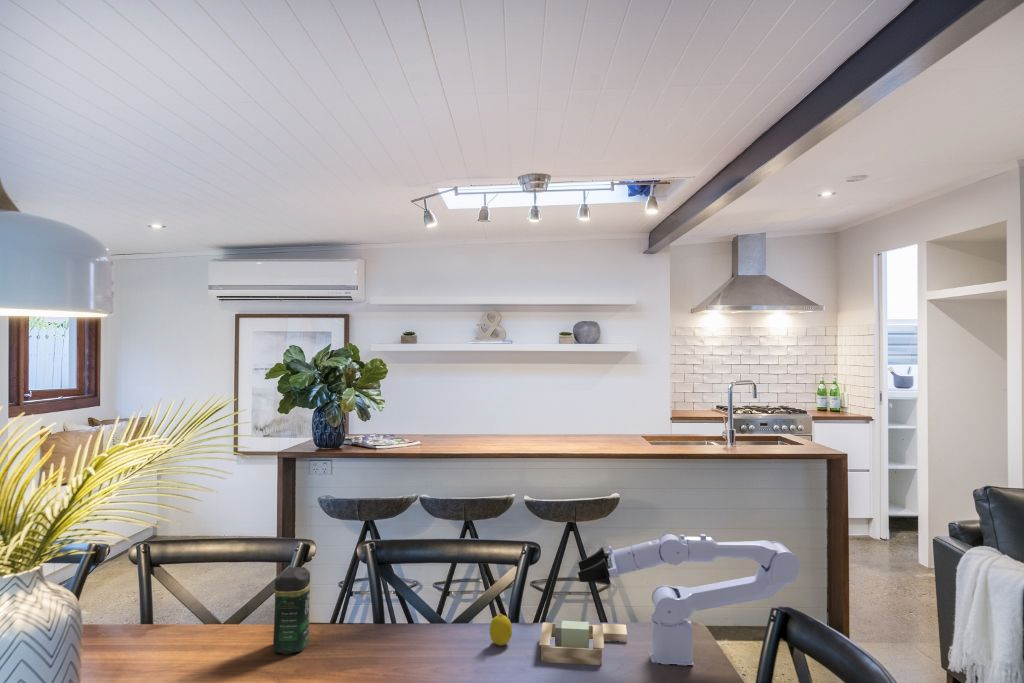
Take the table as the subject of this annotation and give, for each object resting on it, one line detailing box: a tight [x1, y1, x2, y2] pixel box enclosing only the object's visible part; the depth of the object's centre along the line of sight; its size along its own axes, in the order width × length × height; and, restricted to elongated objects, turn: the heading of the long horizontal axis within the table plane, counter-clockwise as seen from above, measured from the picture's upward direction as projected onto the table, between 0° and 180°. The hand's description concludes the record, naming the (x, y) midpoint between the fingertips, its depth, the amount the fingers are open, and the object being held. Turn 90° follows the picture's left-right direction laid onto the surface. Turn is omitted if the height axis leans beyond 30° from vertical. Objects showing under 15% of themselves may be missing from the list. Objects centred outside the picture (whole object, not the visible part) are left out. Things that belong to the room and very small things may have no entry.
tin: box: [555, 619, 590, 648], centre depth 159 cm, size 8×4×6 cm, turn 83°
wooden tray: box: [538, 622, 605, 666], centre depth 158 cm, size 15×14×4 cm
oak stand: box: [601, 623, 628, 643], centre depth 166 cm, size 6×6×2 cm
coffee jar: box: [272, 566, 311, 655], centre depth 162 cm, size 10×8×19 cm
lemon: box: [489, 613, 513, 647], centre depth 162 cm, size 6×6×8 cm
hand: (579, 571), depth 159 cm, fingers open, 7 cm apart
